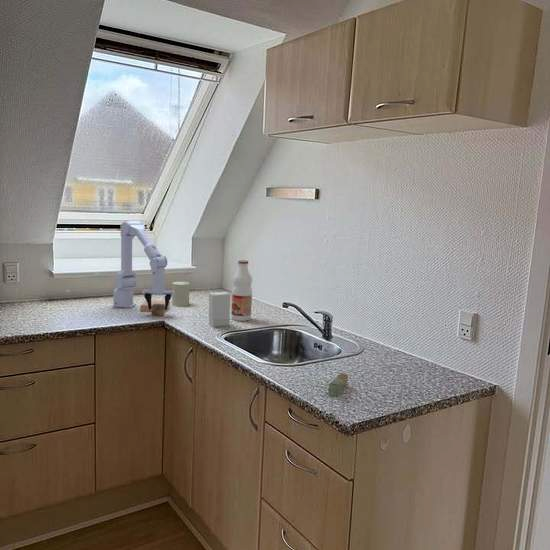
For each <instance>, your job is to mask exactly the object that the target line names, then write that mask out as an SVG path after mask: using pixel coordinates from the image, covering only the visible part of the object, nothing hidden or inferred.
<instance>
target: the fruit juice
mask: <svg viewBox="0 0 550 550" xmlns="http://www.w3.org/2000/svg"><path fill="white" fill-rule="evenodd" d="M237 265H238V266H237V267H238V268H237V270H236V273H235V274H234V275H233V277H232V283H233V287H232V290H231V311H230V313H231V314H230V319H232V320H233V321H236V320H237V321H238V322H246V321H247V320H248V321H250V320H251V319H252V304H253V303H252V300H253V299H252V297H253V289H252V282H253V277H252V275H251V274H250V272H249V269H248V268H249V267H248V265H249V260H245V259H240V260H238V261H237Z"/></svg>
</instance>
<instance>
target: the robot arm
mask: <svg viewBox="0 0 550 550" xmlns="http://www.w3.org/2000/svg"><path fill="white" fill-rule="evenodd" d="M135 237H137V239H138V240H139V242H140V243H141V245H142V246H144V247H143V252H144V253H145V255H146V256H147V258H148V260H149V267H150V271H151V277H152V278H151V289H142V295H143V297H144V299H145V301H147V303H148V307H149V310H150V309H151V301H152V295H161V296H162V295H163V296H164V301H165V310H167V307H168V303H169V302H171V299H172V295H174V291H172V290H168V289H165V273H166V272H165V271H166V270H165V268H166V267H167V265H168V259H167V257H166V256H165V255H163V254H162V253H161V252H160V250H158V248H157V246H156V244H154V243H152V242H151V240H150V239H149V237H148V236H147V233H146V226H145V224H144V223H143V221H141V220H136V221H135V220H134V221H132V220H131V221H130V220H124V221H122V223H121V224H120V238H121V239H120V241H121V243H120V244H121V245H120V251H121V252H120V270H119V271H118V272H117V273H116V274H115V279H114V285H115V287H116V288H114V290H113V294H112V295H113V296H112V297H113V298H112V299H113V300H112V301H113V305H112V307H113V308H130V309H132V308H134V307H135V306H136V303H134V290H135V289H136V286H137V285H138V279H137V273H136V272H135V271H134V270H133V239H134V238H135ZM167 311H168V310H167Z"/></svg>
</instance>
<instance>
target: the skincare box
mask: <svg viewBox="0 0 550 550" xmlns="http://www.w3.org/2000/svg"><path fill="white" fill-rule="evenodd" d="M230 302H231V294H230V293H229V292H227V291H216V292H209V293H208V325H209V326H210V327H212V328H218V327H227V326H229V327H230V323H231V322H230V320H231V314H230V313H231V311H230V310H231V309H230V307H231V303H230Z"/></svg>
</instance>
